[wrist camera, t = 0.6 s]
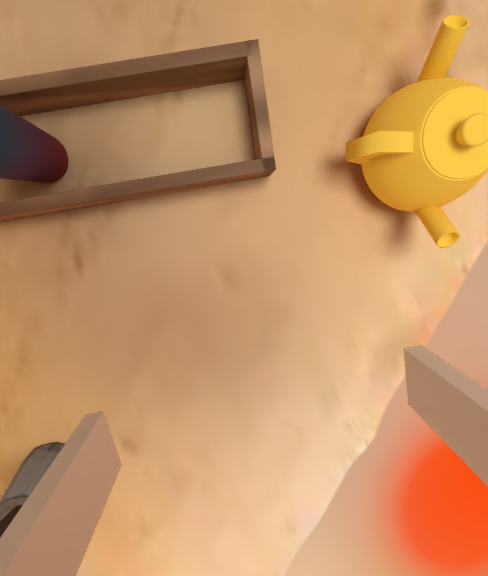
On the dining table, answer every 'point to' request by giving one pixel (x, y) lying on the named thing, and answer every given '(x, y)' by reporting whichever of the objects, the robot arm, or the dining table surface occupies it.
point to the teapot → (428, 139)
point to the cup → (29, 151)
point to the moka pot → (28, 476)
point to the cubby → (134, 83)
